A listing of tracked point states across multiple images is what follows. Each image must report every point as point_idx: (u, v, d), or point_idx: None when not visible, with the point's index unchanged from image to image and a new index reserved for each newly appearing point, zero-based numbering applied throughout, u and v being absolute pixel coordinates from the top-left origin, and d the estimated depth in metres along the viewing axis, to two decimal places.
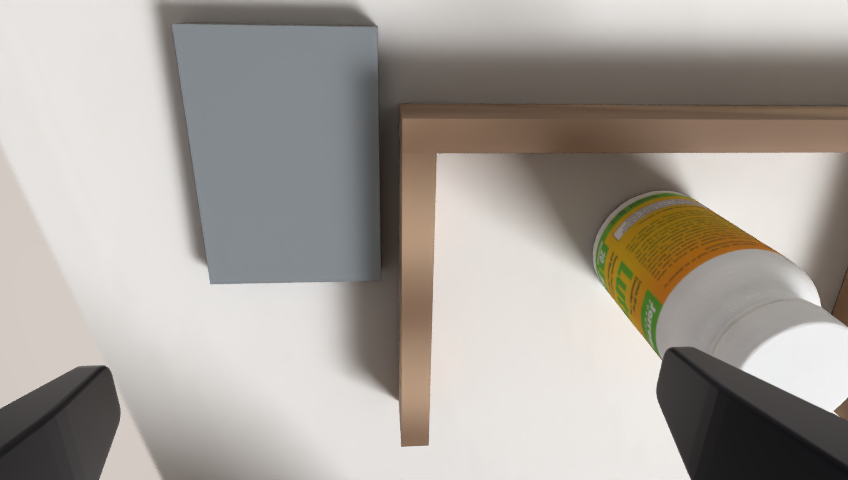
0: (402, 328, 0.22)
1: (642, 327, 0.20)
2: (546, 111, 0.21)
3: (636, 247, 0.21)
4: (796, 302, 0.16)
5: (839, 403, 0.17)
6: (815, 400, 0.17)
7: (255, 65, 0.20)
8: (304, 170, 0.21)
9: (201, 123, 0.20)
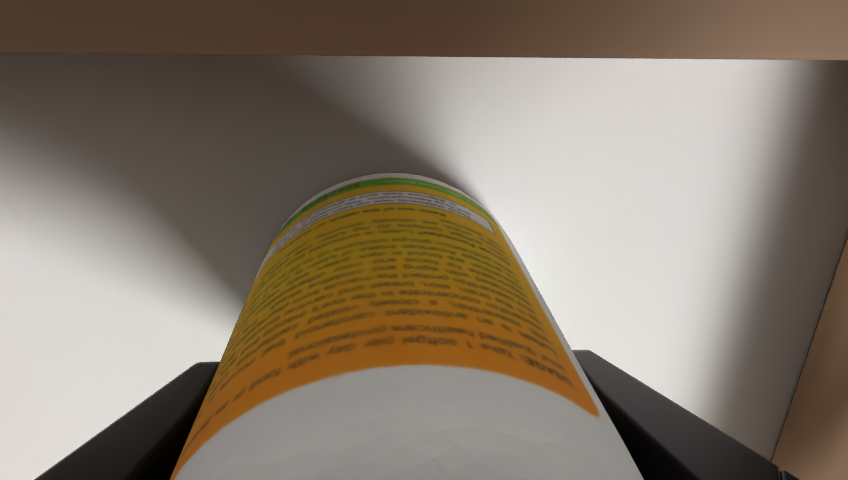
0: None
1: None
2: None
3: (239, 317, 0.08)
4: None
5: None
6: None
7: None
8: None
9: None
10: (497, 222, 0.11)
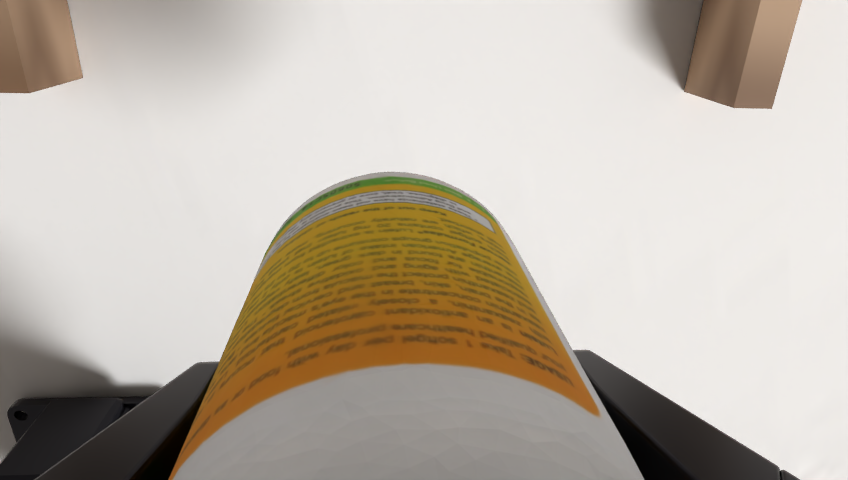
0: None
1: None
2: None
3: (239, 316, 0.08)
4: None
5: None
6: None
7: None
8: None
9: None
10: (498, 221, 0.11)
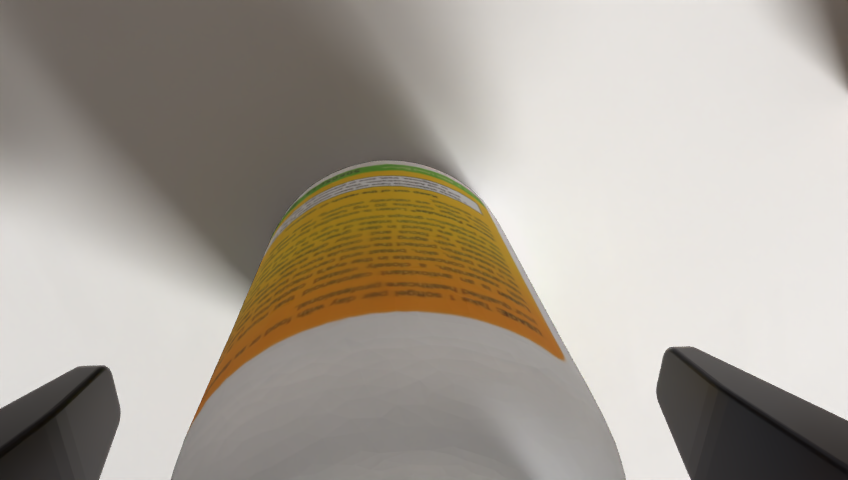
0: None
1: None
2: None
3: (251, 286, 0.09)
4: None
5: None
6: None
7: None
8: None
9: None
10: (486, 206, 0.12)
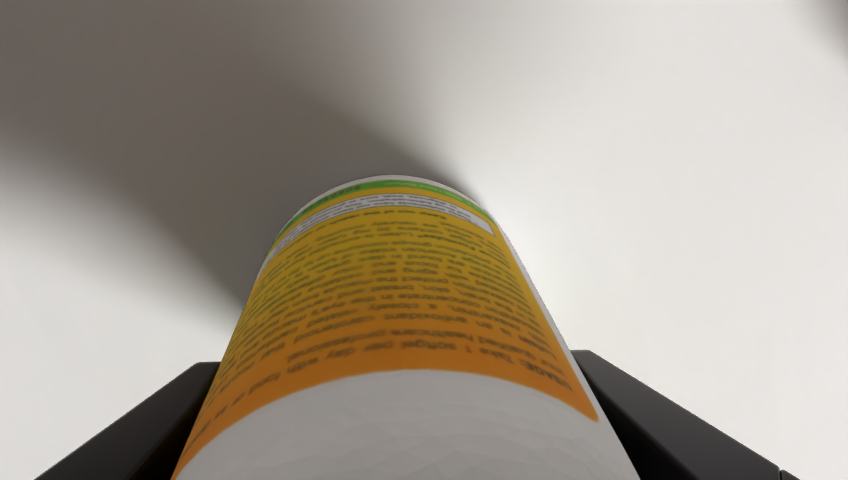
0: None
1: None
2: None
3: (239, 320, 0.08)
4: None
5: None
6: None
7: None
8: None
9: None
10: (498, 224, 0.11)
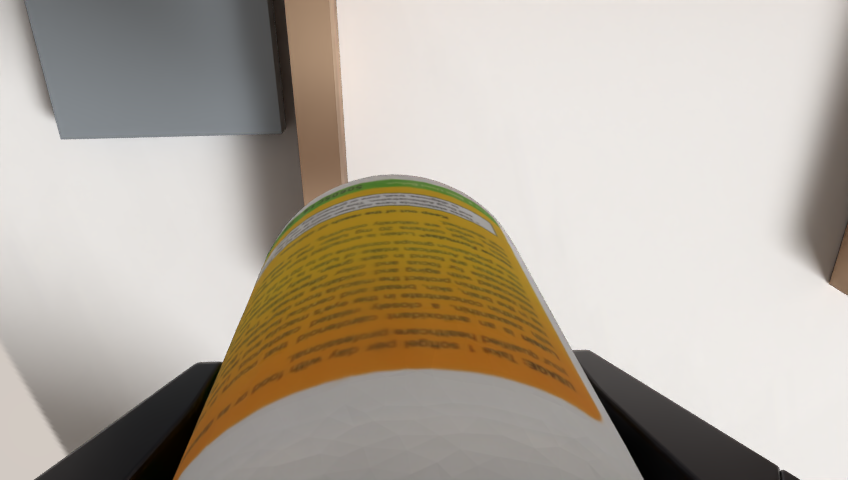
0: (303, 184, 0.17)
1: None
2: None
3: (241, 319, 0.08)
4: None
5: None
6: None
7: None
8: None
9: None
10: (499, 224, 0.11)
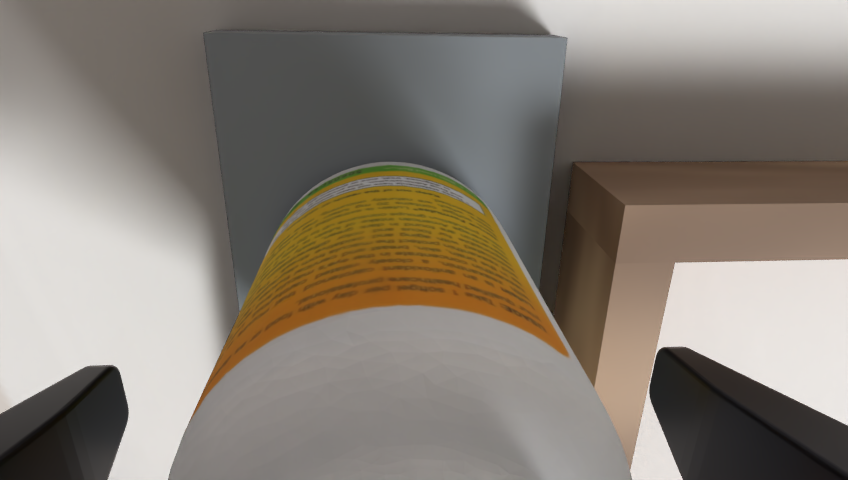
0: None
1: None
2: (840, 180, 0.12)
3: (252, 285, 0.09)
4: None
5: None
6: None
7: (349, 105, 0.11)
8: None
9: (251, 202, 0.12)
10: (488, 208, 0.12)
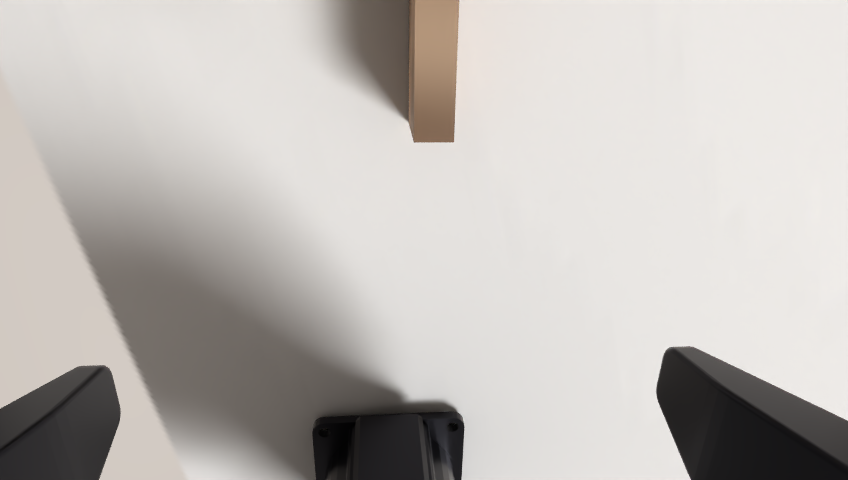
0: None
1: None
2: None
3: None
4: None
5: None
6: None
7: None
8: None
9: None
10: None
